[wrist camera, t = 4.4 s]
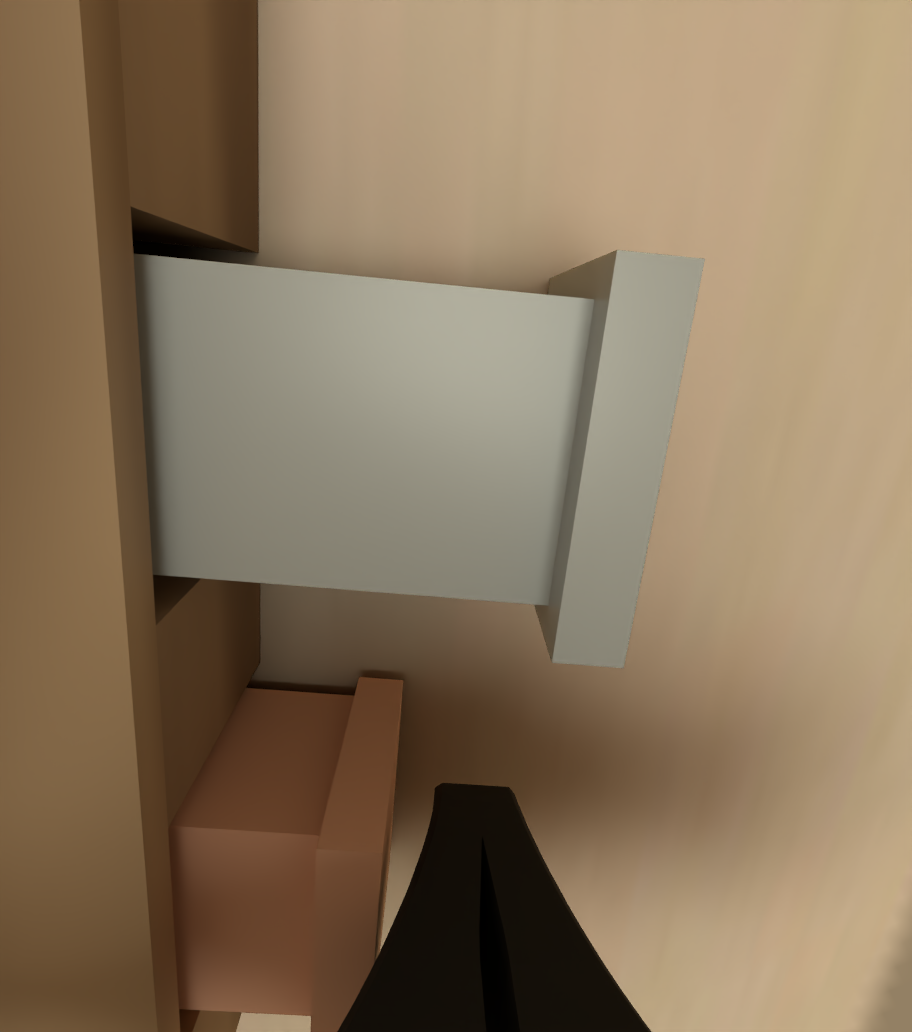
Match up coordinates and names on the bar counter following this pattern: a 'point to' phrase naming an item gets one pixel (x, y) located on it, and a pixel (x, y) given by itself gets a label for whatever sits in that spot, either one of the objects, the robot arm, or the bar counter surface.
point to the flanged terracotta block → (287, 854)
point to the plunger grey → (416, 433)
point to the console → (105, 495)
